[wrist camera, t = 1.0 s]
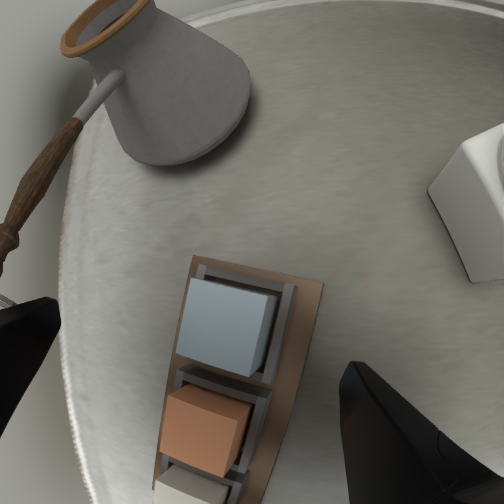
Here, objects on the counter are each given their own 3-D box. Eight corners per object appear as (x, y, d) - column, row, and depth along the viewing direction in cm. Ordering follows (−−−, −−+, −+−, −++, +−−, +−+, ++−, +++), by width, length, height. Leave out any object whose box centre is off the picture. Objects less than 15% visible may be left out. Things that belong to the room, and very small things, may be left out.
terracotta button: (239, 455, 16) (223, 477, 13) (182, 433, 17) (159, 451, 14) (253, 402, 16) (237, 420, 14) (191, 382, 17) (167, 394, 15)
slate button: (262, 364, 17) (248, 376, 14) (199, 345, 18) (175, 352, 15) (278, 296, 17) (267, 296, 14) (213, 281, 18) (190, 277, 15)
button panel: (254, 517, 17) (242, 541, 14) (160, 481, 19) (140, 499, 16) (323, 283, 19) (322, 280, 16) (202, 257, 21) (180, 250, 18)
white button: (220, 517, 15) (205, 539, 13) (171, 496, 17) (151, 515, 14) (231, 482, 16) (215, 505, 13) (177, 461, 17) (155, 479, 14)
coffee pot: (149, 81, 26) (56, -14, 11) (262, 57, 23) (200, -84, 8) (114, 303, 23) (-59, 293, 8) (252, 316, 20) (72, 347, 5)
